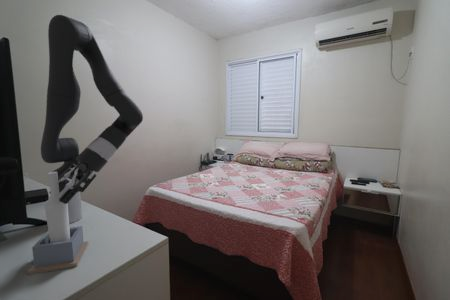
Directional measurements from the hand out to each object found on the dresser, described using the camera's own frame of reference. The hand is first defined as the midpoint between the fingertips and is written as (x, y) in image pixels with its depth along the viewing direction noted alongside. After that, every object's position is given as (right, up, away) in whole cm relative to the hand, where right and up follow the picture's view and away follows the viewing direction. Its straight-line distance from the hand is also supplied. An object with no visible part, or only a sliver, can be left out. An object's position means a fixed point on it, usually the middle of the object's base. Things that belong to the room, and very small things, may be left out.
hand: (57, 198), depth 60 cm
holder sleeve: (-1, -18, +2) cm, 18 cm away
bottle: (0, -17, +3) cm, 18 cm away
